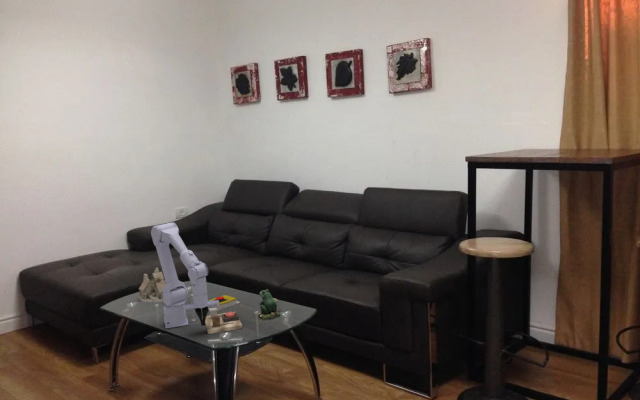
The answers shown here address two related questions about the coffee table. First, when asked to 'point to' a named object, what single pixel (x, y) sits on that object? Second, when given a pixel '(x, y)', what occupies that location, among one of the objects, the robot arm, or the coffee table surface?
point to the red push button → (229, 314)
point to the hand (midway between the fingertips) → (203, 324)
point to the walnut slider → (216, 320)
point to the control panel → (223, 324)
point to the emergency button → (224, 302)
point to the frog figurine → (268, 306)
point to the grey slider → (213, 312)
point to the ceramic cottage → (152, 288)
